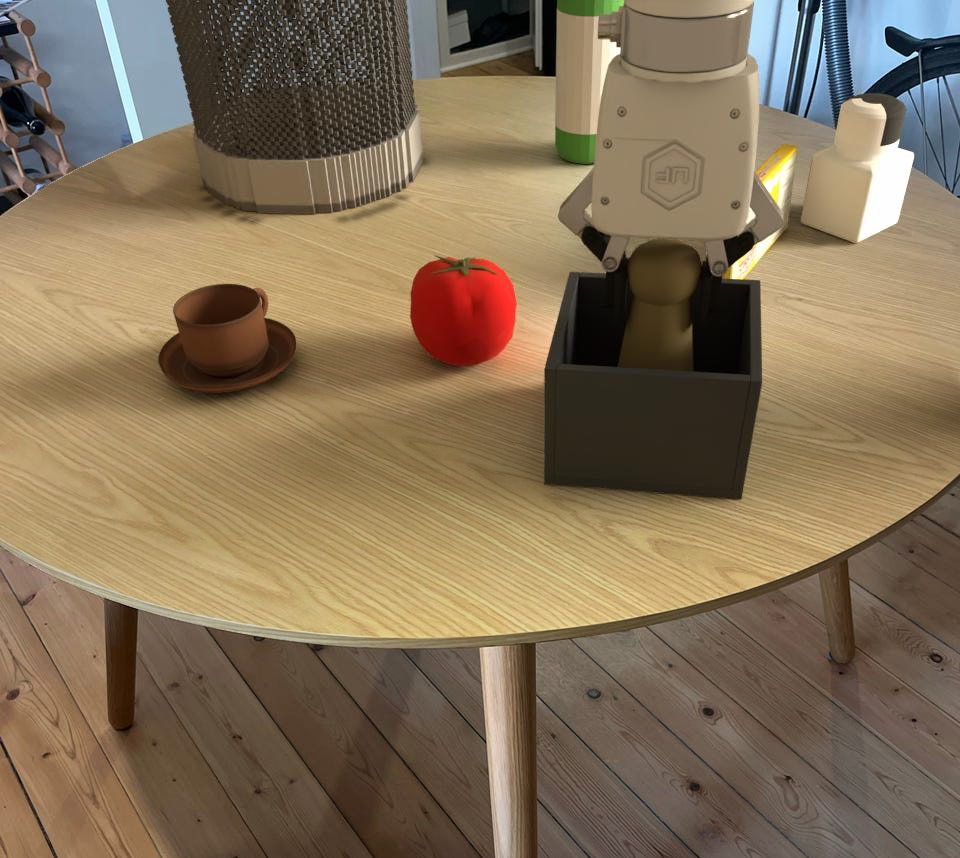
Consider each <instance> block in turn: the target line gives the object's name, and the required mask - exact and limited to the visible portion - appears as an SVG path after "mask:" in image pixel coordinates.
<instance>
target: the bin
mask: <svg viewBox="0 0 960 858" xmlns="http://www.w3.org/2000/svg"><path fill="white" fill-rule="evenodd" d="M605 282H606V272H587V271H586V272H585V271H582V272H581V271H569V272H568V277H567V281H566V284H565V288H564V292H563V296H562V300H561V304H560V307H559V311H558V315H557V319H556V323H555V326H554V329H553V330H554V331H553V335H552V337H551V341H550V345H549V350H548V354H547V357H546V361H545V365H544V370H543V371H544V373H543V374H544V375H543V377H544V379H543V386H544V387H543V391H544V392H543V394H544V396H543V485H548V486H549V485H550V486H562V487H575V488H589V489H600V490H612V491H613V490H616V491H628V492H640V493H651V494H652V493H653V494H666V495H681V496H690V497H691V496H693V497H705V498H706V497H707V498H719V499H731V500H742V499H743V495H744V494H743V493H744V490H745V489H744V488H745V482H746V476H747V473H748V472H747V471H748V466H749V460H750V454H751V449H752V443H753V438H754V432H755V426H756V420H757V415H758V409H759V404H760V400H761V399H760V398H761V393H762V387H763V346H762V345H763V343H762V341H763V340H762V339H763V338H762V334H763V333H762V293H761V292H762V289H761V287H762V285H761V279H746V278H743V279H724V278H722V283H721V291H720V298H719V306H718V313H708V315H707V323H706V330H698V328H696V315H697V304H698V295H699V287H700V282H699V285H698V287H697V289H696V291H695V292H694V293H693V294H692V295H691V305H692V342H693V372H690V371H673V370H656V369H639V368H622V367H618V362H619V358H620V353H621V348H622V343H623V338H624V333H625V328H626V324H627V319H628V314H629V309H630V304H631V299H632V294H633V293H632V291H631V290H630V288H629V287H628V282H627V293H626V307H625V313H624V319H623V324H620V326H615V325H613V308H604V303H605Z"/></svg>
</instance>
